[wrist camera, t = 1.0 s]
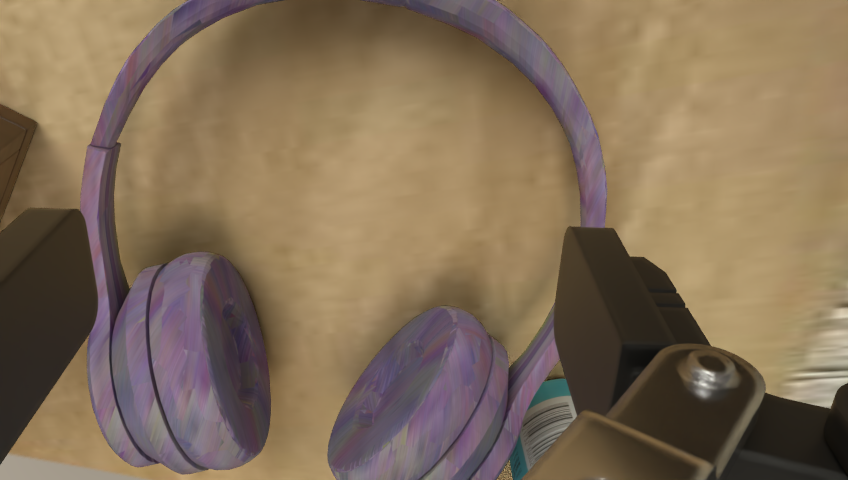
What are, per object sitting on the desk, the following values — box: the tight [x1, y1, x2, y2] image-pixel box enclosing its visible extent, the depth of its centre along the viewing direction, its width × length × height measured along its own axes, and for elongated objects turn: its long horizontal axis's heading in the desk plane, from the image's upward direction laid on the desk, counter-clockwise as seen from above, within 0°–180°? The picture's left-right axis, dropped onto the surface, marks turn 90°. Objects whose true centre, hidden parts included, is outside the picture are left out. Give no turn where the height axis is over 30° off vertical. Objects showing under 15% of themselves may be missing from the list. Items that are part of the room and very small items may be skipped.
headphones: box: [80, 0, 607, 480], centre depth 28 cm, size 18×8×20 cm
